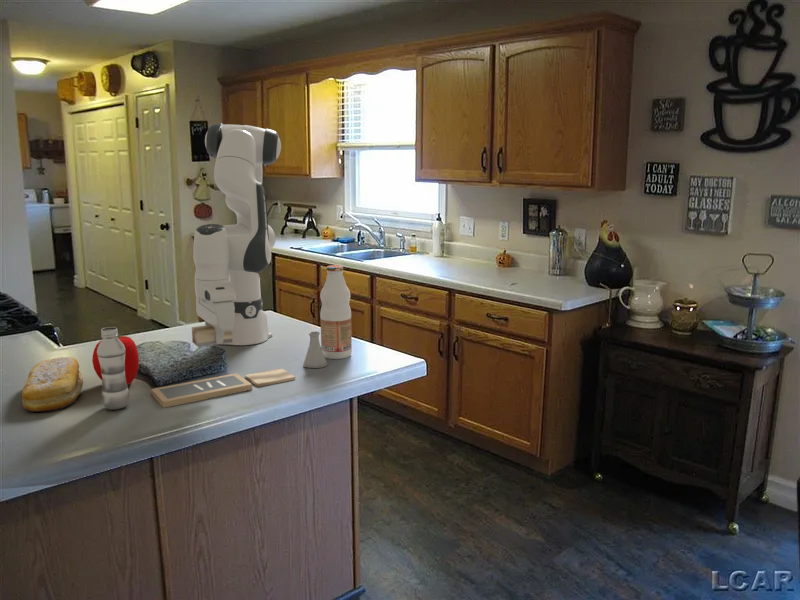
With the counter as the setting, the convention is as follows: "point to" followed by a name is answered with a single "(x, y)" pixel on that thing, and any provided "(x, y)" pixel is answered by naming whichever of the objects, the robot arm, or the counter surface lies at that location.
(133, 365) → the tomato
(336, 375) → the counter surface
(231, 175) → the robot arm
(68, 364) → the bread
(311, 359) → the flask
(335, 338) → the fruit juice
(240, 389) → the chalkboard
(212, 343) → the block
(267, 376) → the pad
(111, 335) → the plastic bottle
